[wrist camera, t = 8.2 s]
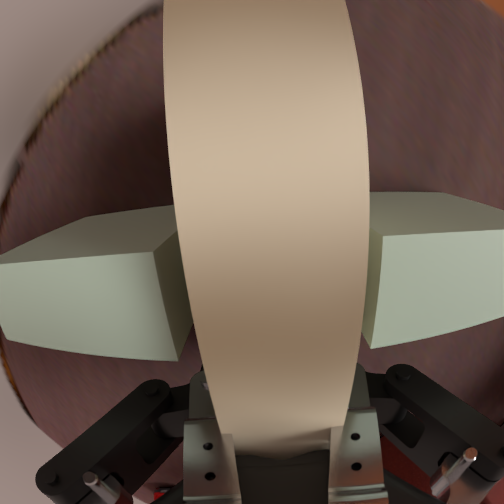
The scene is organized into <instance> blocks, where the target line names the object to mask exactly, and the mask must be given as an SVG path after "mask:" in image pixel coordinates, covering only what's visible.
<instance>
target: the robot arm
mask: <svg viewBox="0 0 504 504" xmlns="http://www.w3.org/2000/svg"><path fill="white" fill-rule="evenodd" d="M408 410H409V411H410V412H411V413H413V414H414V415H415V416H416V417H418V418H419V419H420V420H421V421H422V422H423V423H422V422H421V421H420V420H419V419H417V418H416V417H415V416H414V415H413V414H411V413H410V412H409V411H408ZM379 431H380V432H381V433H382V434H383V435H384V436H385V437H386V438H387V439H388V440H389V441H391V442H392V443H393V444H394V445H395V446H396V447H397V448H398V449H399V450H400V451H401V452H403V453H404V454H405V455H406V456H407V457H408V458H409V459H410V460H411V461H412V462H414V463H415V464H416V465H417V466H418V467H419V468H420V469H421V470H423V471H424V472H425V473H426V474H427V475H428V476H429V477H431V479H430V487H431V493H432V494H433V495H434V496H436V497H437V498H435V497H433V496H431V495H429V494H427V493H425V492H424V491H422V490H420V489H418V488H416V487H415V486H413V485H411V484H409V483H408V482H406V481H404V480H402V479H401V478H399V477H397V476H396V475H394V474H392V473H391V472H389V471H388V470H386V469H384V468H383V464H382V454H381V444H380V436H379ZM183 440H184V450H183V480H182V481H180V482H179V483H178V484H177V485H175V486H174V487H173V488H171V489H170V490H169V491H167V492H166V493H164V494H163V495H162V496H160V497H159V498H158V499H156V500H155V501H153V502H152V503H150V504H480V502H481V501H482V500H483V499H484V498H485V496H486V495H487V494H488V492H489V491H490V490H491V489H492V487H494V486H495V485H496V484H497V483H498V482H499V481H500V480H501V479H502V478H503V477H504V424H503V425H502V426H501V427H500V426H498V425H497V424H495V423H494V422H492V421H491V420H490V419H488V418H487V417H485V416H484V415H482V414H481V413H479V412H478V411H476V410H475V409H473V408H472V407H471V406H469V405H468V404H466V403H465V402H463V401H462V400H460V399H459V398H457V397H456V396H455V395H453V394H452V393H450V392H449V391H447V390H446V389H444V388H443V387H441V386H440V385H439V384H437V383H436V382H434V381H433V380H431V379H430V378H428V377H427V376H426V375H424V374H423V373H421V372H420V371H418V370H417V369H415V368H414V367H412V366H410V365H406V364H397V365H393V366H391V367H390V368H389V369H388V370H387V372H386V374H375V373H369V372H366V371H365V370H364V368H363V367H362V366H361V365H360V364H358V363H356V369H355V375H354V380H353V385H352V390H351V395H350V400H349V405H348V409H347V414H346V418H345V422H344V425H342V426H336V427H331V430H330V434H329V439H328V443H329V446H328V449H324V450H317V451H312V452H308V453H305V454H302V455H299V456H296V457H292V458H289V459H285V460H278V459H271V458H265V457H259V456H254V455H236V451H235V444H234V440H233V436H232V434H221V432H220V428H219V425H218V421H217V418H216V414H215V410H214V407H213V403H212V399H211V395H210V391H209V387H208V383H207V379H206V375H205V371H204V367H203V363H202V367H201V371H200V372H198V373H197V374H195V375H194V376H193V377H192V378H191V380H190V383H189V384H187V385H183V386H179V387H173V388H170V387H169V385H168V383H166V382H165V381H162V380H157V379H154V380H148V381H146V382H144V383H142V384H141V385H139V386H138V387H137V388H136V389H135V390H134V391H132V392H131V393H130V394H129V395H128V396H127V397H125V398H124V399H123V400H122V401H121V402H120V403H118V404H117V405H116V406H115V407H114V408H112V409H111V410H110V411H109V412H108V413H107V414H105V415H104V416H103V417H102V418H101V419H99V420H98V421H97V422H96V423H95V424H93V425H92V426H91V427H90V428H89V429H87V430H86V431H85V432H84V433H83V434H81V435H80V436H79V437H78V438H76V439H75V440H74V441H73V442H72V443H70V444H69V445H68V446H67V447H65V448H64V449H63V450H62V451H61V452H59V453H58V454H57V455H55V456H54V457H53V458H52V459H51V460H49V461H48V462H47V463H45V464H44V465H43V466H42V467H41V468H40V469H39V470H38V472H37V474H36V479H35V480H36V485H37V487H38V488H39V490H40V491H41V492H42V493H44V494H45V495H46V496H47V497H48V498H50V499H51V500H52V501H53V502H54V503H55V504H133V498H132V495H133V494H134V493H135V492H136V491H137V490H138V489H139V488H140V487H141V486H142V485H143V484H144V482H145V481H146V480H147V479H148V478H149V477H150V476H151V475H152V474H153V473H154V472H155V471H156V470H157V469H158V468H159V467H160V465H161V464H162V463H163V462H164V461H165V460H166V459H167V458H168V457H169V456H170V454H171V453H172V452H173V451H174V450H175V449H176V448H177V447H178V445H179V444H180V443H181V442H182V441H183Z"/></svg>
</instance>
